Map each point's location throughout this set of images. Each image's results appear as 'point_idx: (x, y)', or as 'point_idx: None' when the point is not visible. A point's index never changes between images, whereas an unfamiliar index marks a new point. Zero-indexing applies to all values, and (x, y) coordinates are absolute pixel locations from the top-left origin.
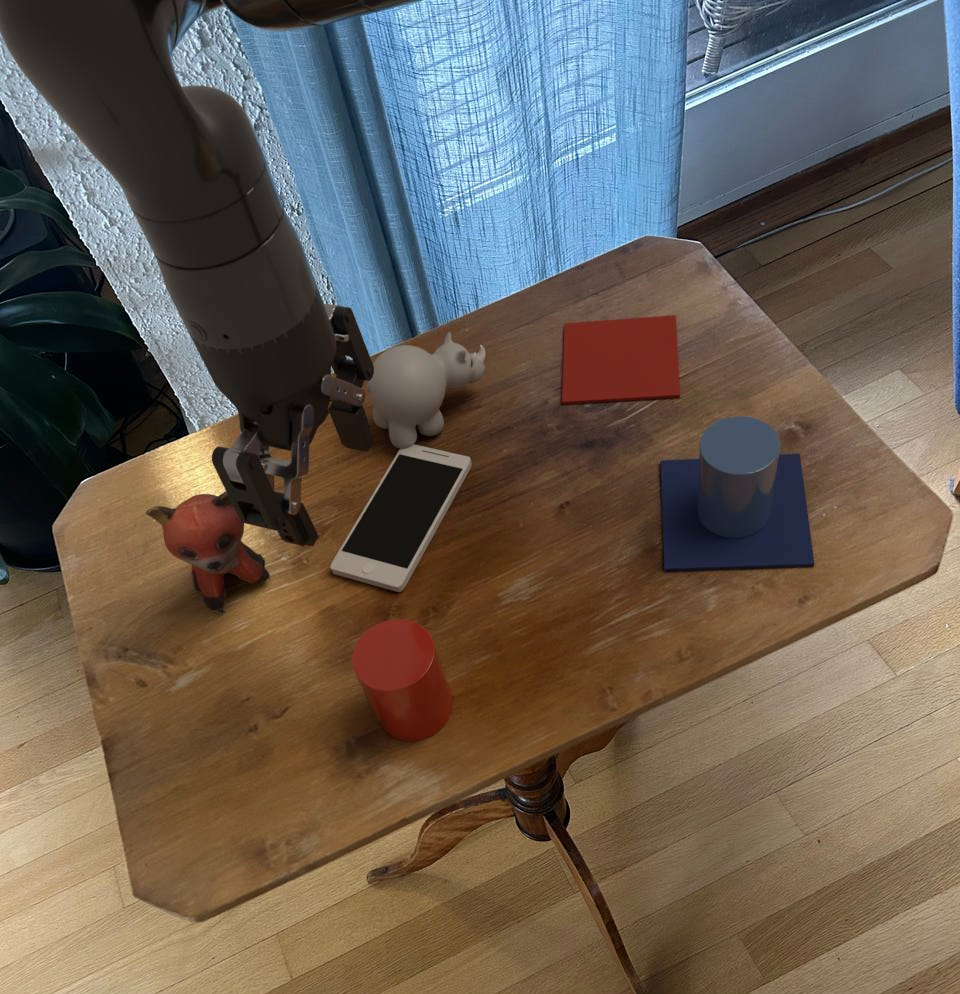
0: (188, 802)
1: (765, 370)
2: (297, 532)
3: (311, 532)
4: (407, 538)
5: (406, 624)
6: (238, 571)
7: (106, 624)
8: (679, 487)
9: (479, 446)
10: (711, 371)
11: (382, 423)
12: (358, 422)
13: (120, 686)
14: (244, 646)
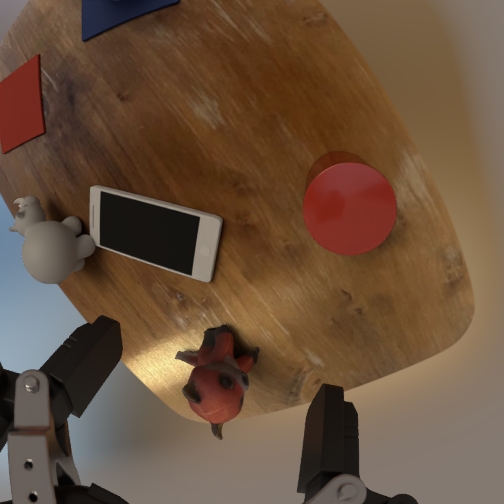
0: (410, 337)
1: (28, 16)
2: (352, 435)
3: (337, 408)
4: (170, 222)
5: (310, 201)
6: (231, 351)
7: (272, 403)
8: (103, 18)
9: (81, 183)
10: (25, 45)
11: (81, 262)
12: (77, 368)
13: None
14: (286, 330)
